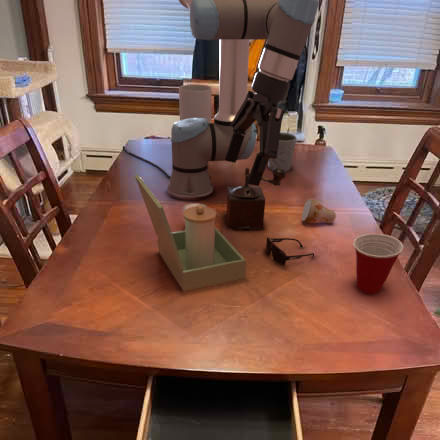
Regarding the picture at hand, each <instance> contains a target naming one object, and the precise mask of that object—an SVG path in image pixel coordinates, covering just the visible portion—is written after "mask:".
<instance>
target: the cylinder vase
mask: <svg viewBox="0 0 440 440" xmlns="http://www.w3.org/2000/svg"><path fill="white" fill-rule="evenodd" d="M178 102H179V103H178V104H179V105H178V106H179V121H180V120H183V119H187V118H195V117H197V118H205V119H207V120H208V122H209V123H212V87H211V86H209V85H206V84H205V85H204V84H184V85H180V86H178Z"/></svg>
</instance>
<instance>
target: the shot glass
mask: <svg viewBox="0 0 440 440" xmlns="http://www.w3.org/2000/svg"><path fill="white" fill-rule="evenodd" d="M198 205H202V206H204V207H207V205H205V204H203V203H200V202H199V203H198V202H193V203H192V202H191V203H190V202H189V203H186V204H185V205H183V206H182V213H183V212H184V211H185V210H186V209H188V208H190V207H195V206H198ZM183 221H184V224H185V219H184V218H183Z"/></svg>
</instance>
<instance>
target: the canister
mask: <svg viewBox="0 0 440 440" xmlns="http://www.w3.org/2000/svg"><path fill="white" fill-rule="evenodd" d="M217 213H218V212H217V211H216V209H214V208H211V207H209V206H206V207H204V206H202V205H198V206H195V207H190V208H188V209H186V210H185V211H184V212H183V211H182V217H183V220H184V219H185V223H184V230H185V257H186V267H187V268H188V269H189V270H190V269H195V268H200V267H205V266H210V265H214V259H215V227H216V219H217V216H218V215H217Z"/></svg>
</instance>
